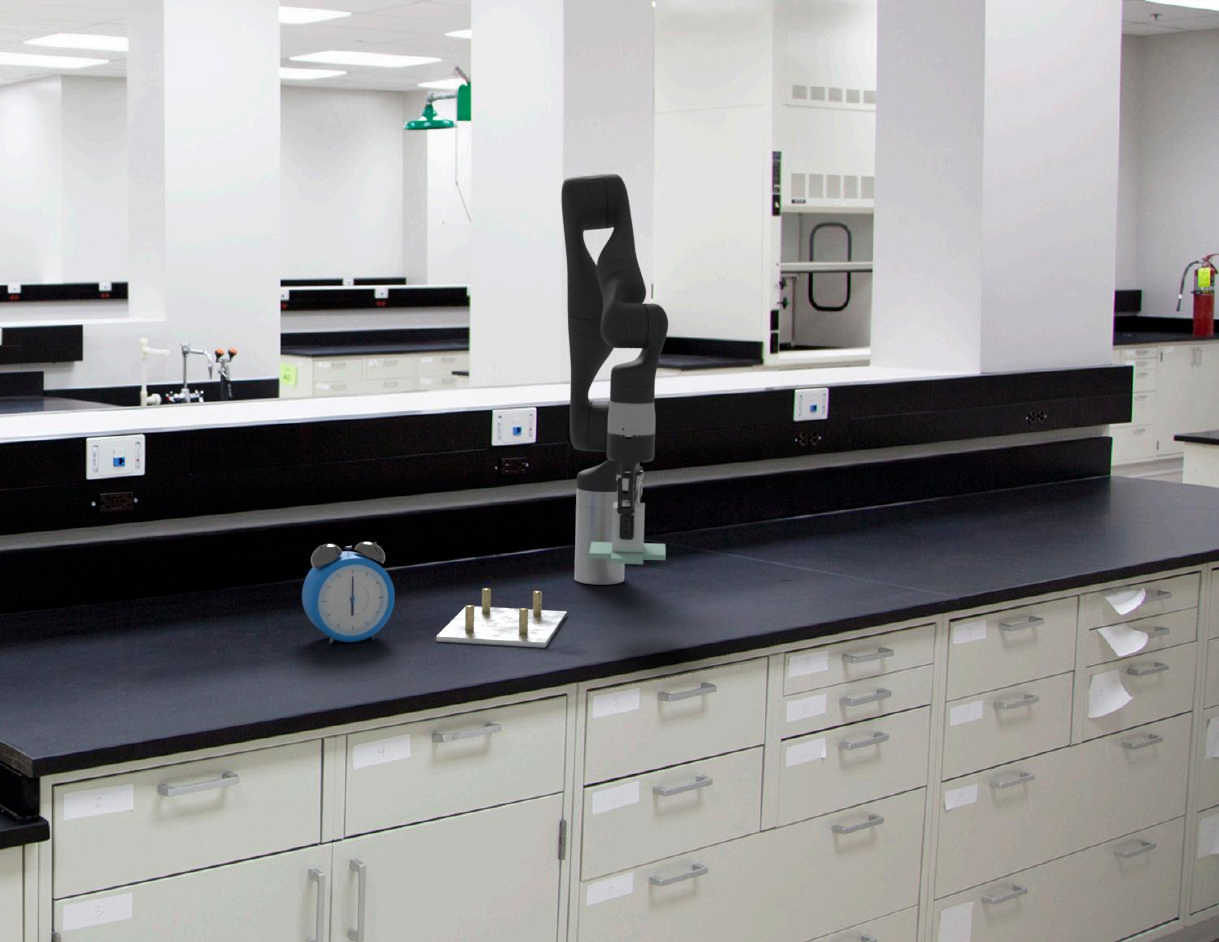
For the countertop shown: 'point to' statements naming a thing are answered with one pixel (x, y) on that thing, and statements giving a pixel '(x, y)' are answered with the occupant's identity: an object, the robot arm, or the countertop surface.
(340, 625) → the alarm clock
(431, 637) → the countertop surface
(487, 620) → the chassis plate
